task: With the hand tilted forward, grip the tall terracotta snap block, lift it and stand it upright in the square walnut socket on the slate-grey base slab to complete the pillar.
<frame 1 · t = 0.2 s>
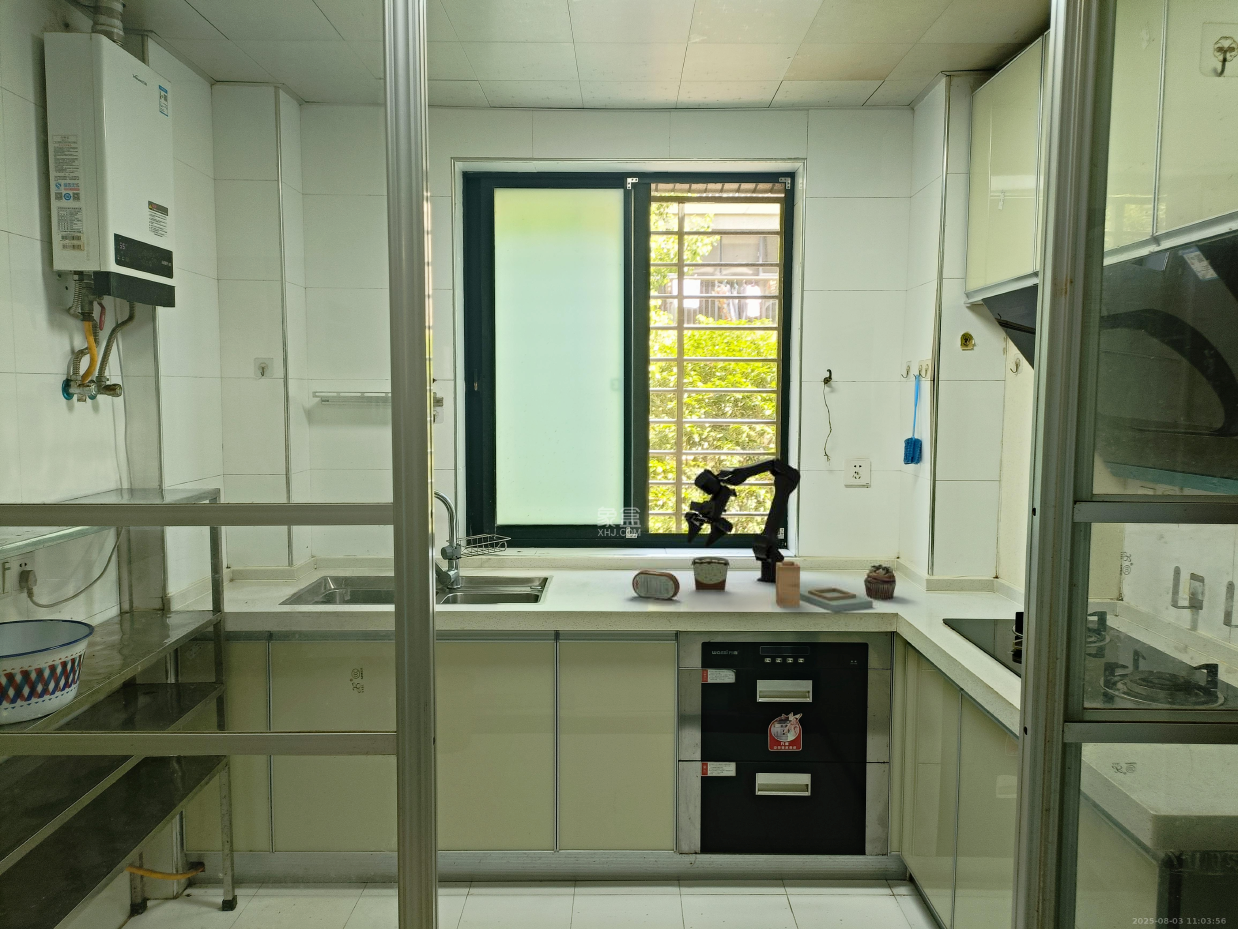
hand: (696, 545, 263), 15 cm above the countertop, tool tilted 35°, fingers open, 9 cm apart
food container: (710, 589, 268), on the countertop
cupcake: (879, 597, 257), on the countertop
terracotta block: (787, 604, 247), on the countertop
base slab: (831, 602, 250), on the countertop
tin: (655, 599, 255), on the countertop
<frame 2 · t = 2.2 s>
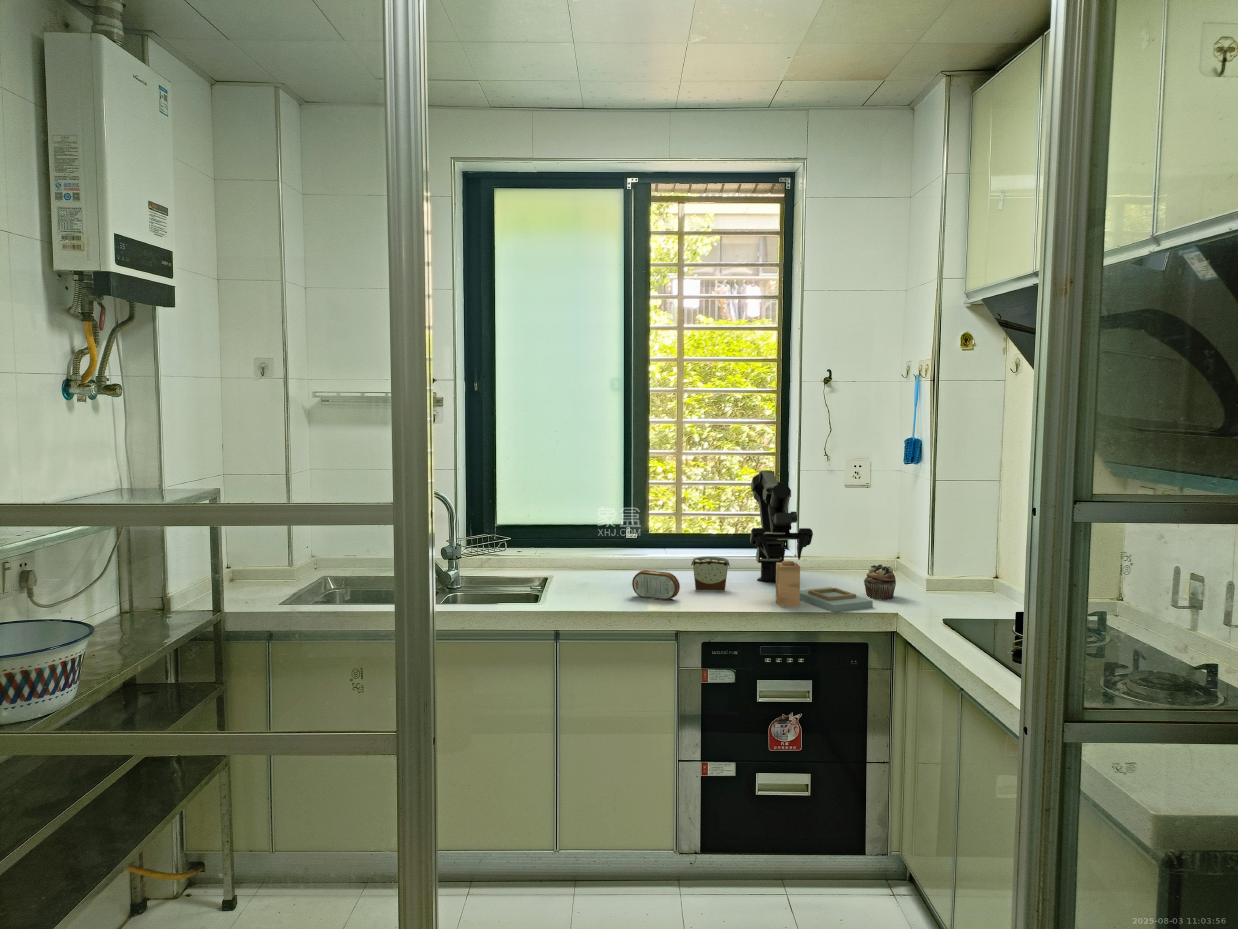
hand: (784, 558, 253), 12 cm above the countertop, tool tilted 45°, fingers open, 9 cm apart
nothing on the countertop moved.
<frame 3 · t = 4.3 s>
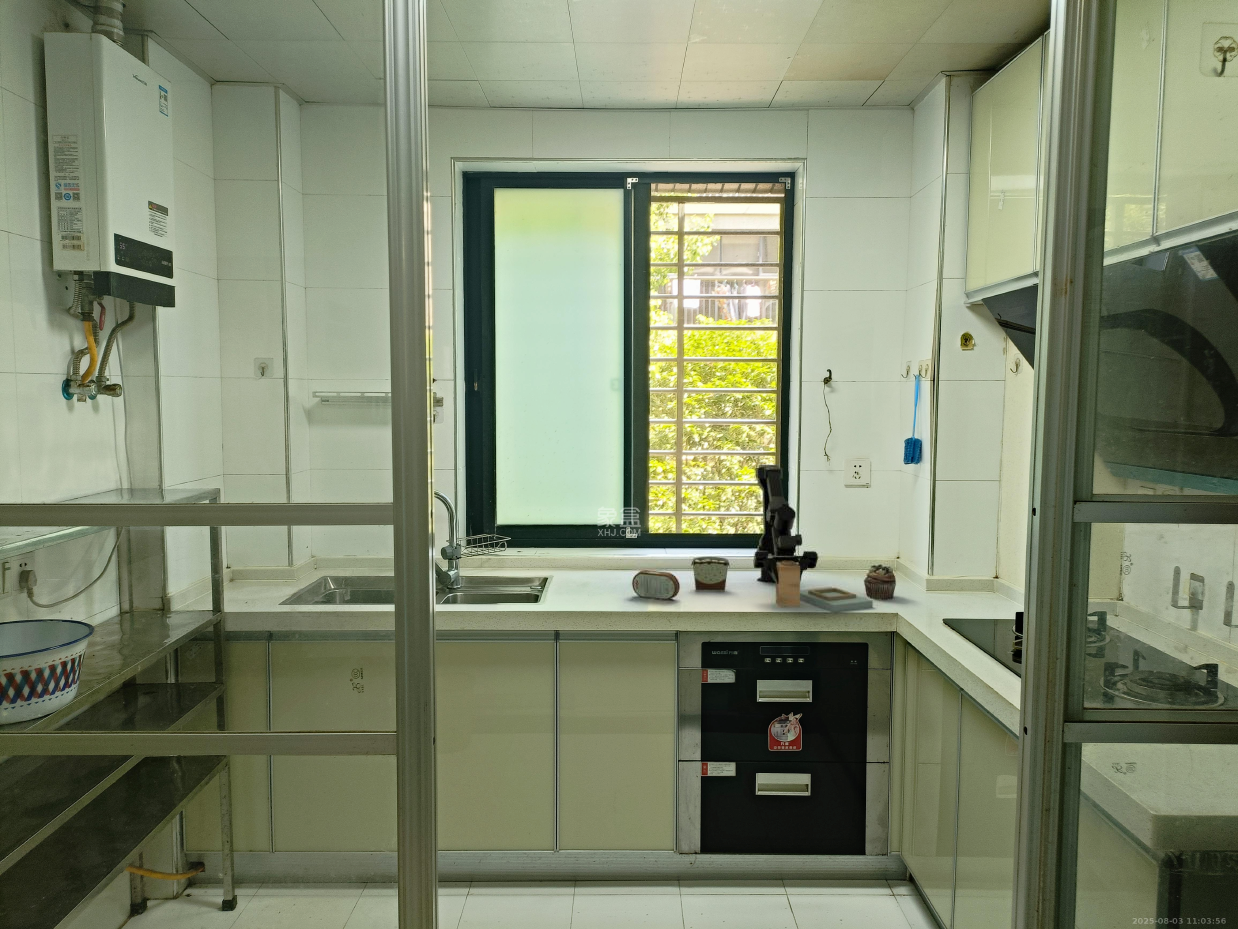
hand: (788, 583, 245), 7 cm above the countertop, tool tilted 45°, fingers closed on terracotta block, 6 cm apart
terracotta block: (787, 604, 247), on the countertop, touching gripper
everything else where it was.
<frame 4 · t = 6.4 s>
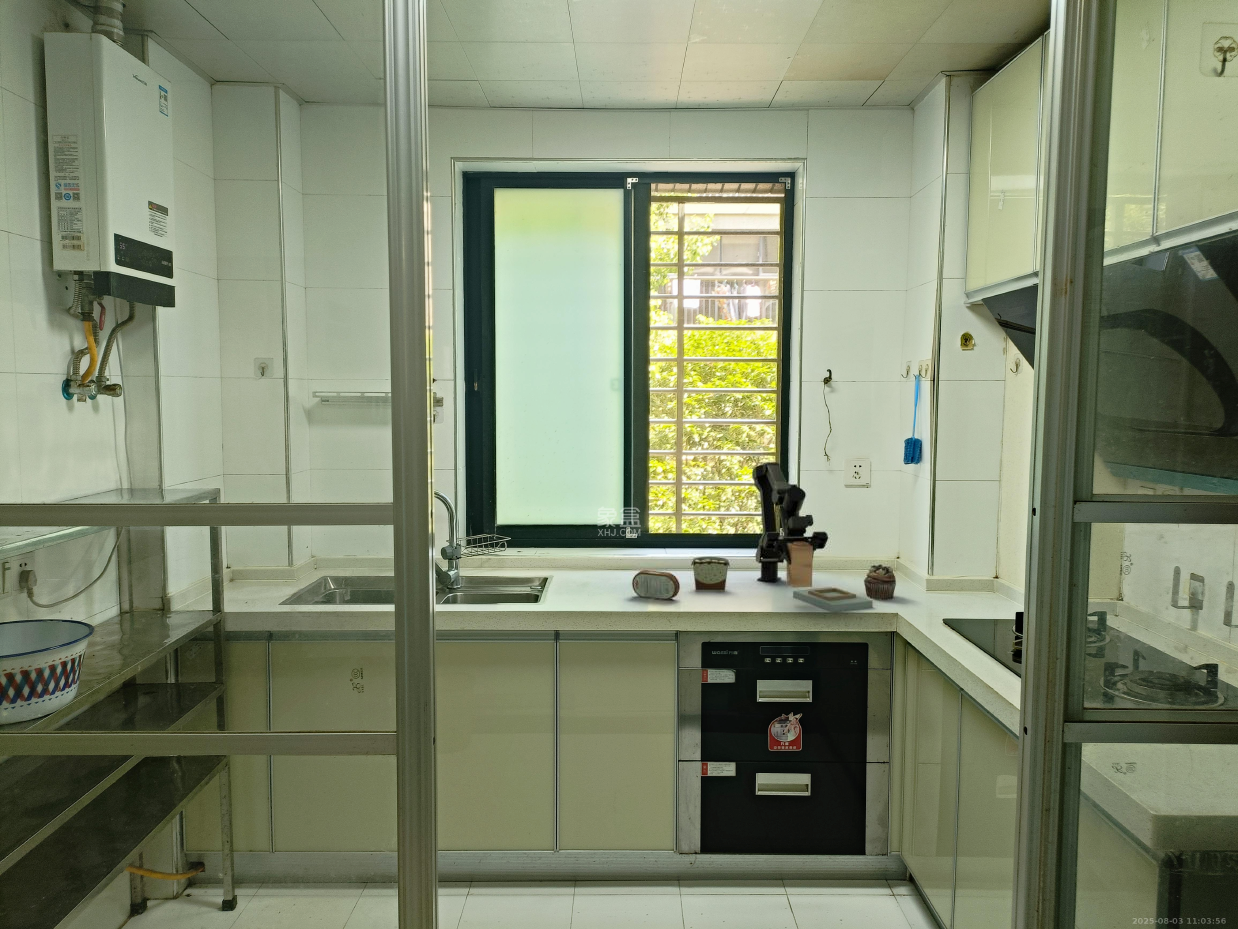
hand: (800, 563, 245), 12 cm above the countertop, tool tilted 45°, fingers closed on terracotta block, 6 cm apart
terracotta block: (799, 584, 247), point 6 cm above the countertop, touching gripper
everything else where it was.
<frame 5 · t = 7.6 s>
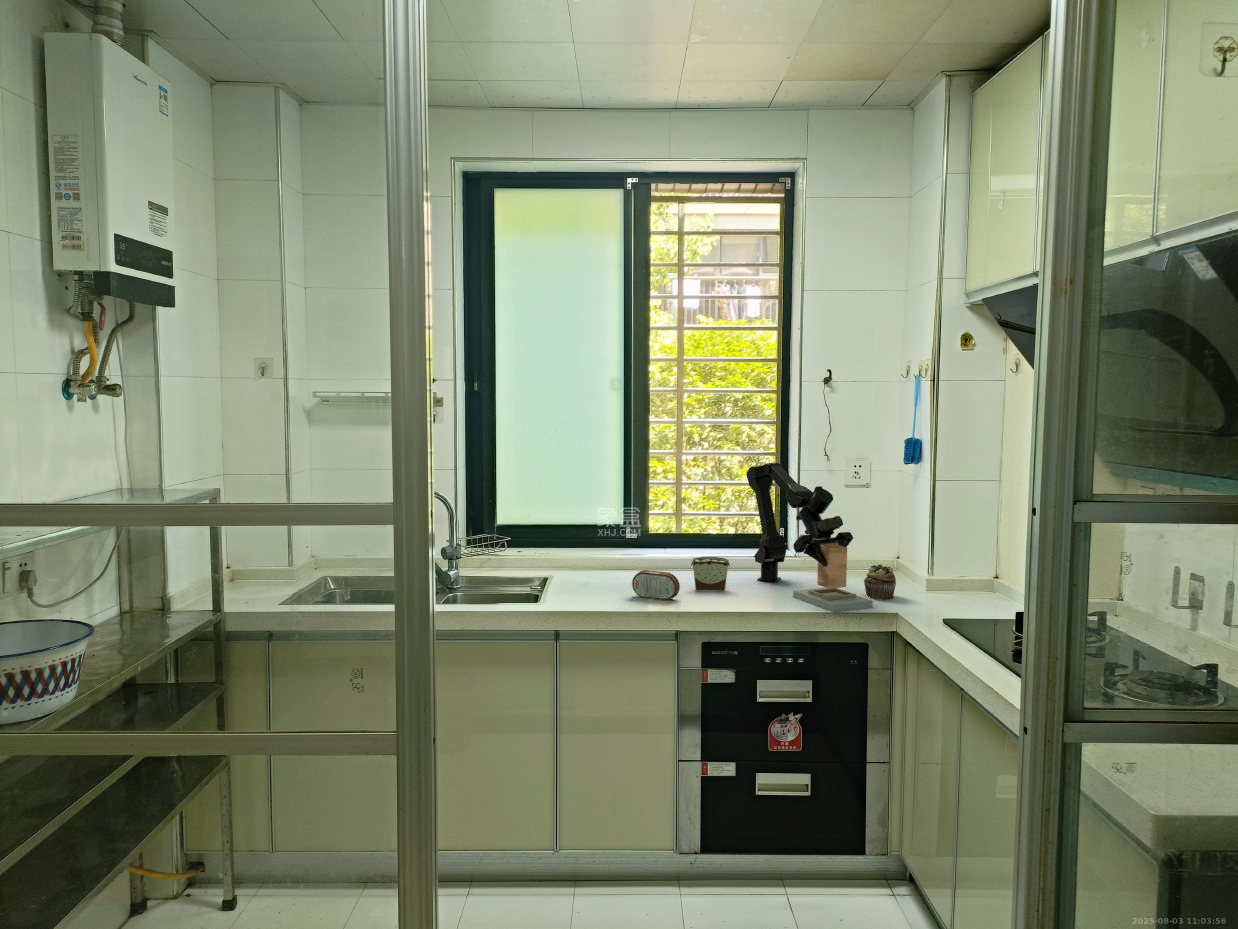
hand: (835, 565, 248), 12 cm above the countertop, tool tilted 45°, fingers closed on terracotta block, 6 cm apart
terracotta block: (831, 585, 250), point 5 cm above the countertop, touching gripper
everything else where it was.
when the fingers open (9 cm above the countertop, at t = 8.5 s): terracotta block stays where it is, resting on base slab.
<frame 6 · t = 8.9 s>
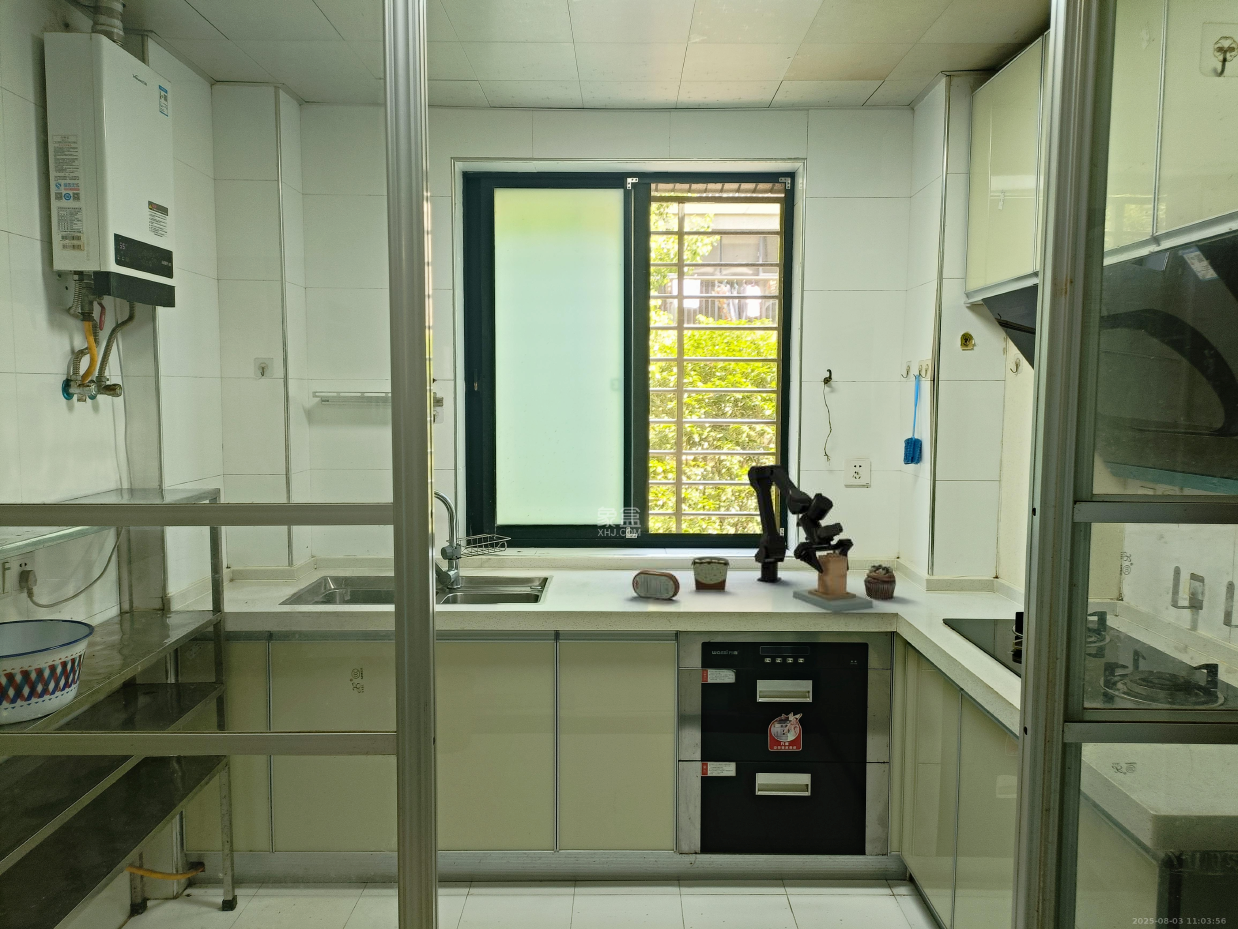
hand: (835, 571, 248), 10 cm above the countertop, tool tilted 45°, fingers open, 9 cm apart
terracotta block: (831, 595, 250), point 2 cm above the countertop, touching base slab
everything else where it was.
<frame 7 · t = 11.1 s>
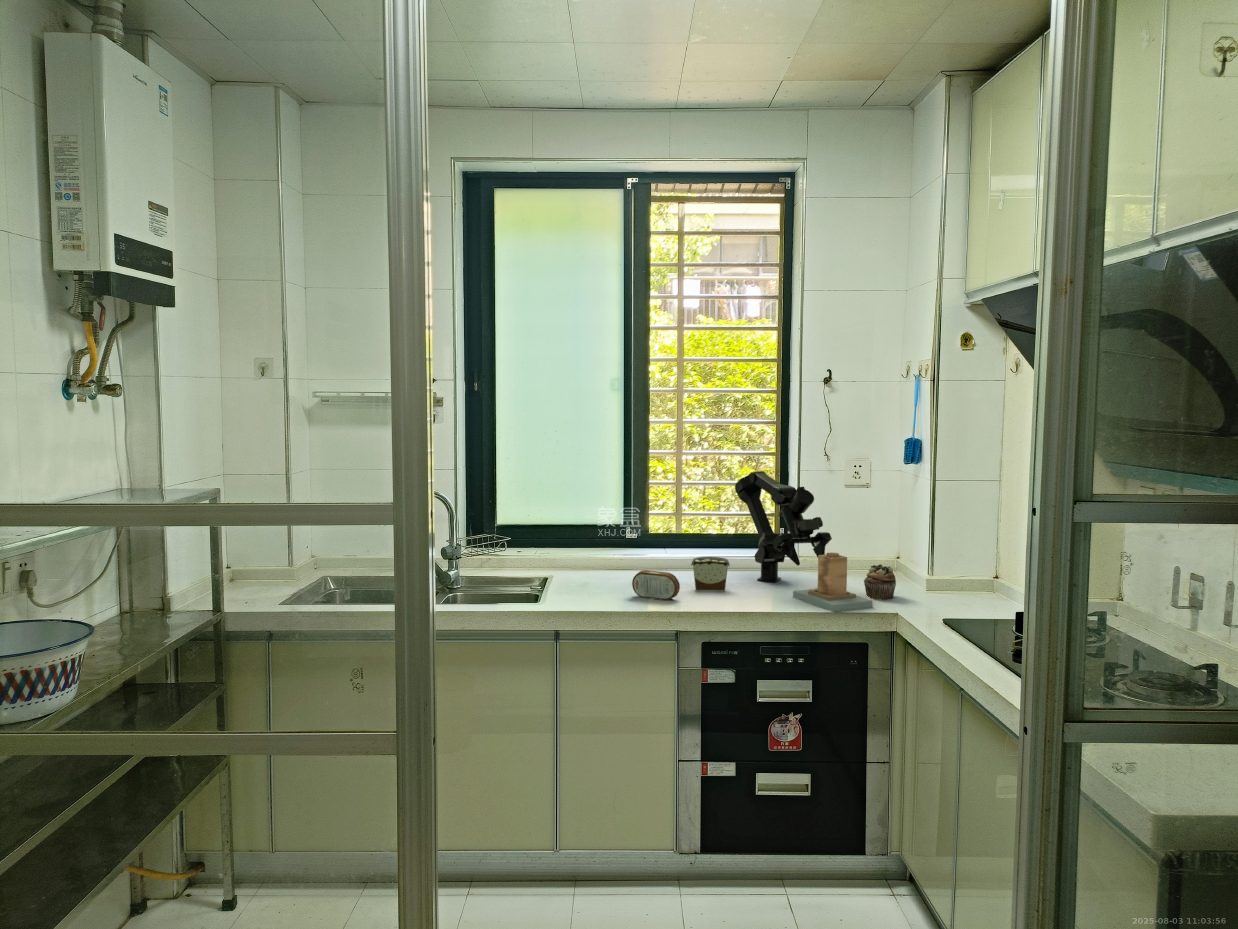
hand: (811, 564, 257), 10 cm above the countertop, tool tilted 40°, fingers open, 9 cm apart
nothing on the countertop moved.
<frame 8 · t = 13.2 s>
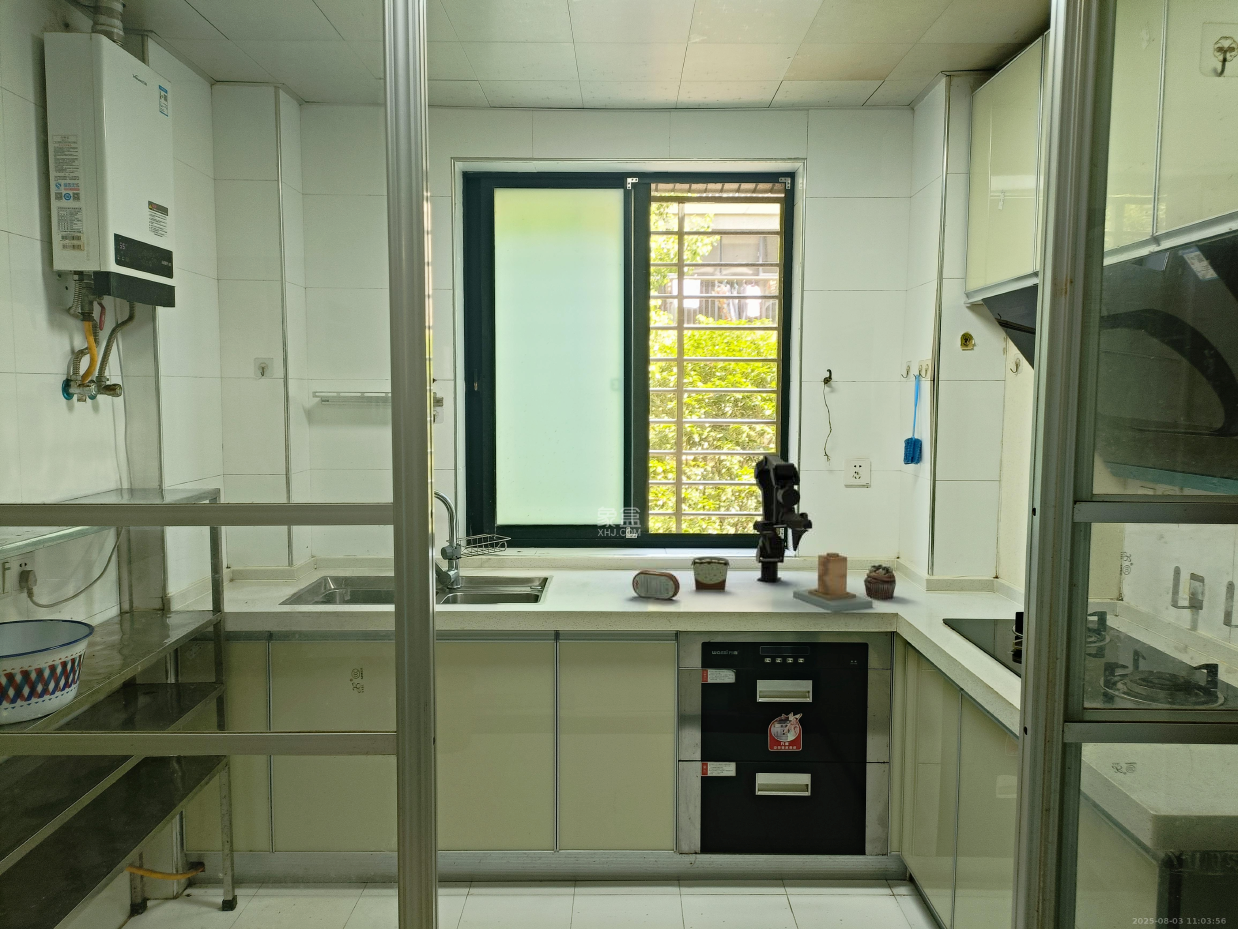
hand: (782, 552, 261), 13 cm above the countertop, tool pointing down, fingers open, 9 cm apart
nothing on the countertop moved.
at the end: terracotta block 0.0 cm off-centre on the base slab, point 2.0 cm above the base slab's base; terracotta block tilted 0°; the gripper is holding nothing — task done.
